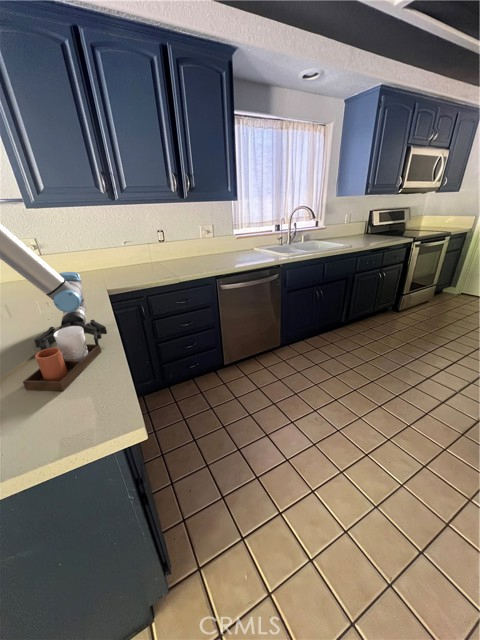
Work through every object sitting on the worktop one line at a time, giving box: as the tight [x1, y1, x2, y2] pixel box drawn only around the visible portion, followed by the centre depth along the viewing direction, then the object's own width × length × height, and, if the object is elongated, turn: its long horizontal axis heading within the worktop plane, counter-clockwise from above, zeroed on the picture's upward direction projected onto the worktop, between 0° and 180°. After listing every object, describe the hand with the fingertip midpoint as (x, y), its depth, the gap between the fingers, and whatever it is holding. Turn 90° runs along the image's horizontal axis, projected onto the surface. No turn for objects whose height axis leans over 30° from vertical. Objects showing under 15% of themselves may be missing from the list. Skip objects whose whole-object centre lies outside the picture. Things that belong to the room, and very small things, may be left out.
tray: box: [22, 343, 102, 392], centre depth 81 cm, size 10×20×3 cm, turn 178°
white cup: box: [54, 326, 88, 361], centre depth 83 cm, size 8×8×10 cm
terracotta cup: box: [34, 346, 68, 381], centre depth 75 cm, size 6×6×9 cm
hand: (71, 347), depth 80 cm, fingers open, 13 cm apart
